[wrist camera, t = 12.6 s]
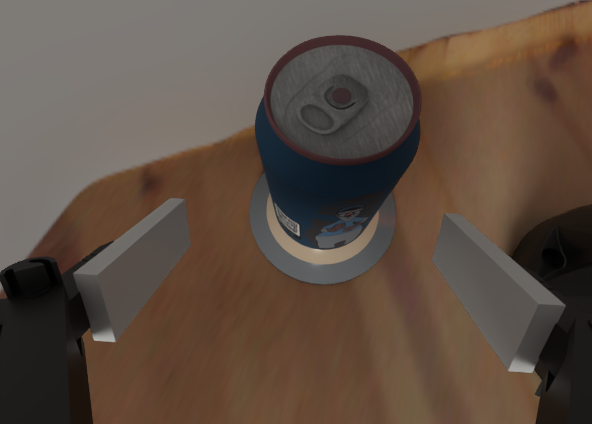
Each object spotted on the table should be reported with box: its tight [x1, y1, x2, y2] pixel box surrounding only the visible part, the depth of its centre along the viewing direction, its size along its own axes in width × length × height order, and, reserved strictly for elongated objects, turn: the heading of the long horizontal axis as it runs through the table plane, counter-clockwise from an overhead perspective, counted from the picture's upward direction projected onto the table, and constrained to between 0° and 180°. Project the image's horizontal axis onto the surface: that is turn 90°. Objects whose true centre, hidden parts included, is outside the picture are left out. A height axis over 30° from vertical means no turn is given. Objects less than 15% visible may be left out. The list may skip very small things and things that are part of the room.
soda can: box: [255, 35, 421, 250], centre depth 16 cm, size 7×7×12 cm
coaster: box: [250, 172, 396, 285], centre depth 22 cm, size 11×11×1 cm
